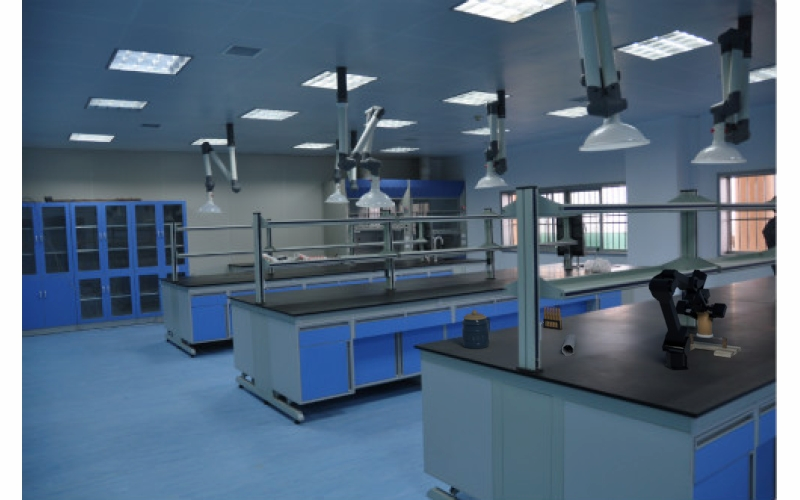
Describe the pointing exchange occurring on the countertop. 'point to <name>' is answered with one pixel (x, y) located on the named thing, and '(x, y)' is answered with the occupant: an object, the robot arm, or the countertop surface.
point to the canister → (475, 331)
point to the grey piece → (715, 346)
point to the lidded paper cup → (704, 325)
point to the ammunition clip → (552, 319)
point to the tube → (571, 341)
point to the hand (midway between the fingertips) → (705, 320)
